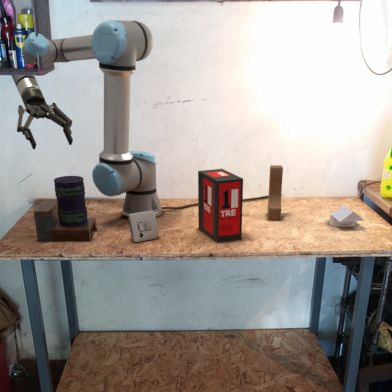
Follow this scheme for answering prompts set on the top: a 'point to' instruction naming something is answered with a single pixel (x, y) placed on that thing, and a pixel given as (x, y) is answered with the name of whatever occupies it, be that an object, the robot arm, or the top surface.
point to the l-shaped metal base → (58, 225)
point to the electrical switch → (143, 226)
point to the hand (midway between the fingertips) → (53, 144)
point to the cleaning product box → (220, 204)
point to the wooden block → (275, 192)
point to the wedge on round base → (344, 217)
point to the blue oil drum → (71, 201)
